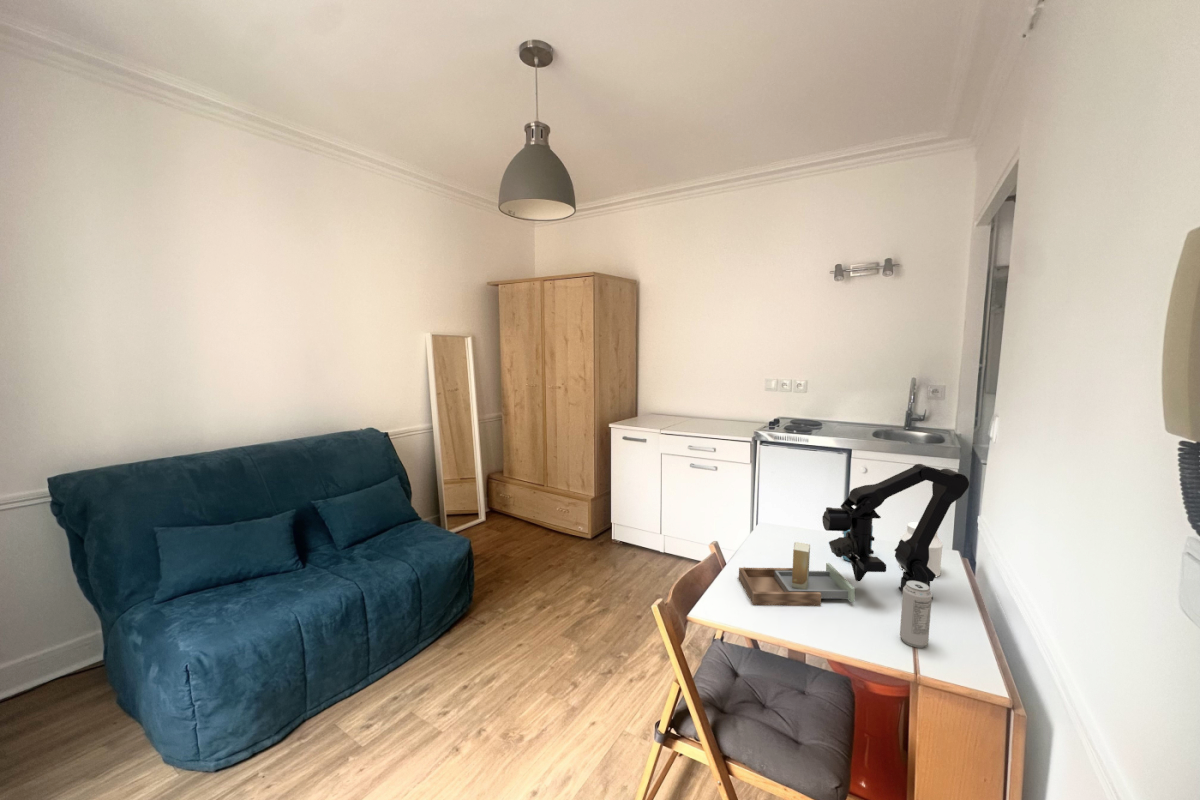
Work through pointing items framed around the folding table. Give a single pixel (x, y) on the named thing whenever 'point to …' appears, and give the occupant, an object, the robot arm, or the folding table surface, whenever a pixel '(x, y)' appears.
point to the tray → (820, 583)
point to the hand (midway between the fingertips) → (857, 580)
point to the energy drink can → (915, 614)
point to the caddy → (773, 589)
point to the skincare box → (800, 565)
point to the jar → (934, 549)
